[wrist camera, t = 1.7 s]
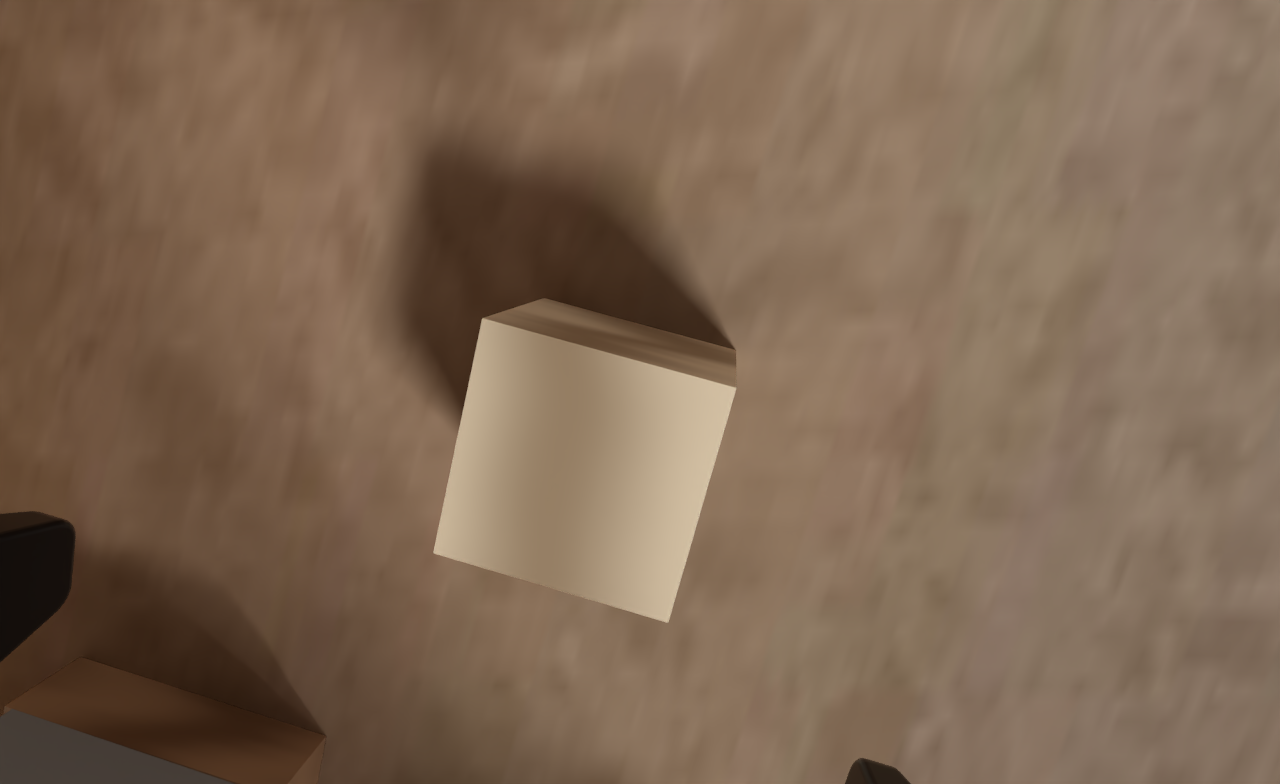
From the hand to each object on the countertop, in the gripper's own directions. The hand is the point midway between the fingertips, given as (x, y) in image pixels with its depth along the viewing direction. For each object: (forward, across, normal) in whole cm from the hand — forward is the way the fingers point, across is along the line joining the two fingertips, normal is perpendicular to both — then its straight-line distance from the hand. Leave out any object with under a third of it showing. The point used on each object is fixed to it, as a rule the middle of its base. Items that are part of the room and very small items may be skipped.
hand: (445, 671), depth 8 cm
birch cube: (+12, 0, 0) cm, 12 cm away
